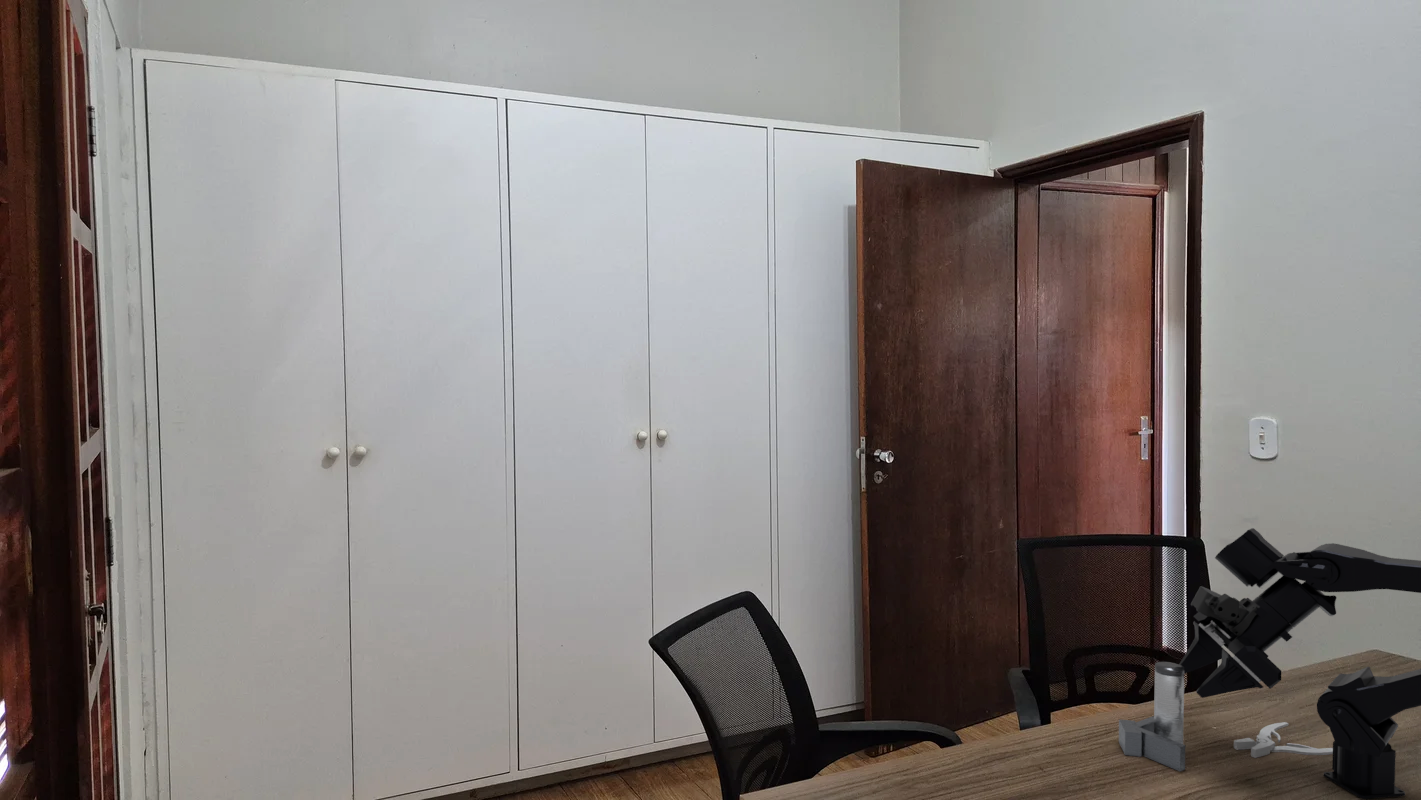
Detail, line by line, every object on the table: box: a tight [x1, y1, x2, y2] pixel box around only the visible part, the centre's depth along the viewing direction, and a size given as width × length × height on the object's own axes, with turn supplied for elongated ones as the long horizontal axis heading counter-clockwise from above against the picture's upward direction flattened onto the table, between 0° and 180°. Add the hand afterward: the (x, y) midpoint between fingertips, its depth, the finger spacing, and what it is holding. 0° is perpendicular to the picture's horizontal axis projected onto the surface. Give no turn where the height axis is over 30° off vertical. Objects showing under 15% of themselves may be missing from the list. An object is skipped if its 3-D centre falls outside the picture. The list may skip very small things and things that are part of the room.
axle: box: [1153, 661, 1185, 745], centre depth 125 cm, size 4×4×13 cm
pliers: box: [1233, 721, 1333, 759], centre depth 128 cm, size 10×2×15 cm
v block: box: [1118, 715, 1186, 772], centre depth 126 cm, size 7×12×4 cm, turn 165°
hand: (1188, 682), depth 124 cm, fingers open, 9 cm apart
